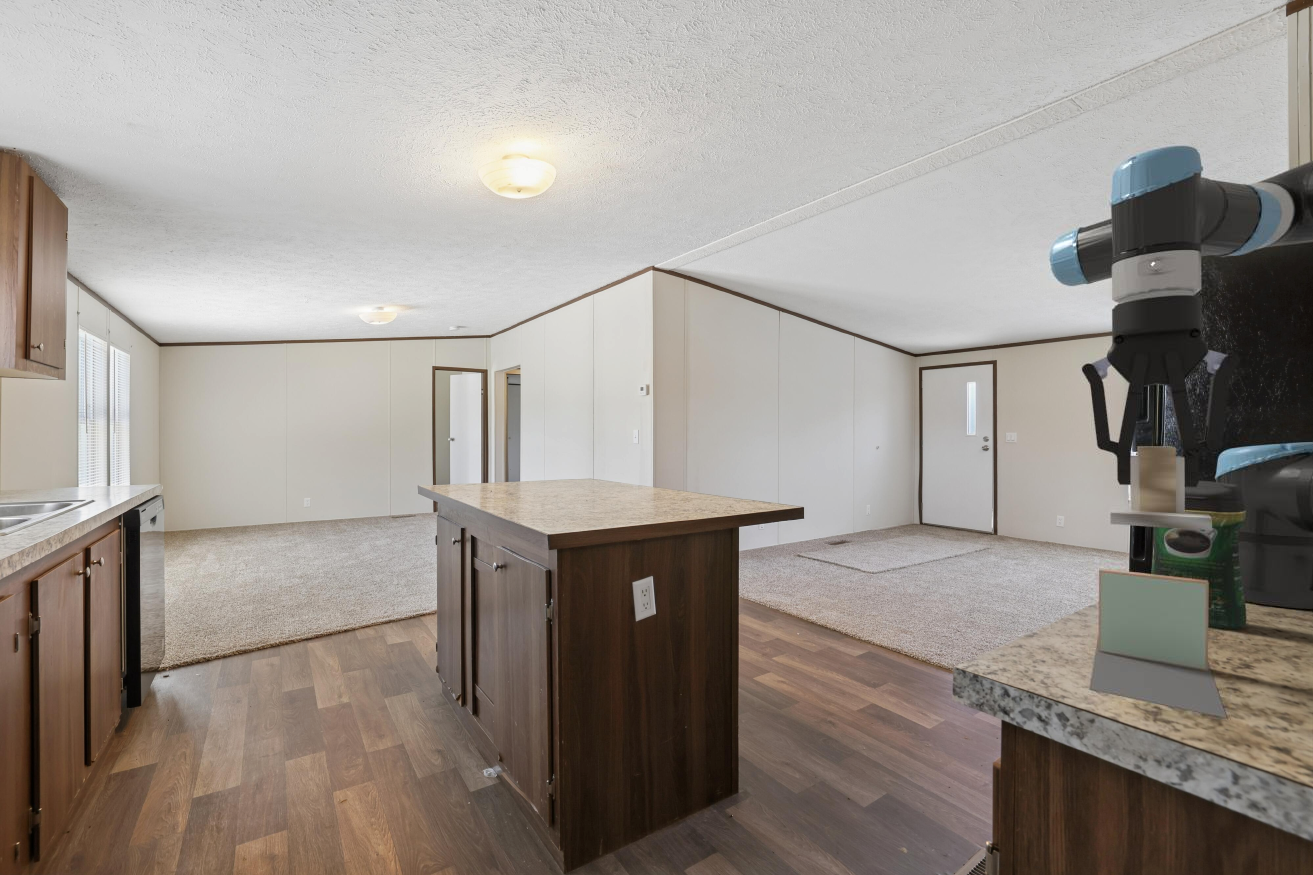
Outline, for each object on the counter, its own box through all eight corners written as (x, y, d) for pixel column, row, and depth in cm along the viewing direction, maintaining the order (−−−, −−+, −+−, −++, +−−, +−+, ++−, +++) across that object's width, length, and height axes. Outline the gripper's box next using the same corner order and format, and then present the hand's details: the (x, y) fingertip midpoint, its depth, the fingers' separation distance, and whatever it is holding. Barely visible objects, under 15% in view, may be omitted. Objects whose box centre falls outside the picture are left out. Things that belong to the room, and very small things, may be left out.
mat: (1200, 645, 71) (1200, 641, 71) (1226, 723, 52) (1226, 717, 52) (1099, 629, 77) (1099, 625, 77) (1089, 694, 58) (1089, 688, 58)
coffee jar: (1251, 625, 79) (1252, 481, 79) (1238, 637, 74) (1239, 484, 74) (1157, 608, 87) (1158, 477, 87) (1139, 618, 82) (1140, 479, 82)
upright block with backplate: (1202, 520, 66) (1202, 446, 66) (1212, 530, 60) (1211, 448, 60) (1110, 514, 71) (1110, 446, 71) (1110, 523, 65) (1109, 448, 65)
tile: (1206, 667, 63) (1207, 580, 63) (1208, 671, 62) (1208, 582, 62) (1098, 648, 69) (1099, 568, 68) (1098, 651, 67) (1099, 570, 67)
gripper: (1063, 304, 68) (1065, 515, 68) (1265, 281, 58) (1266, 526, 59) (1068, 314, 74) (1069, 507, 74) (1251, 295, 64) (1252, 517, 65)
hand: (1156, 515), depth 67 cm, fingers closed on upright block with backplate, 3 cm apart
